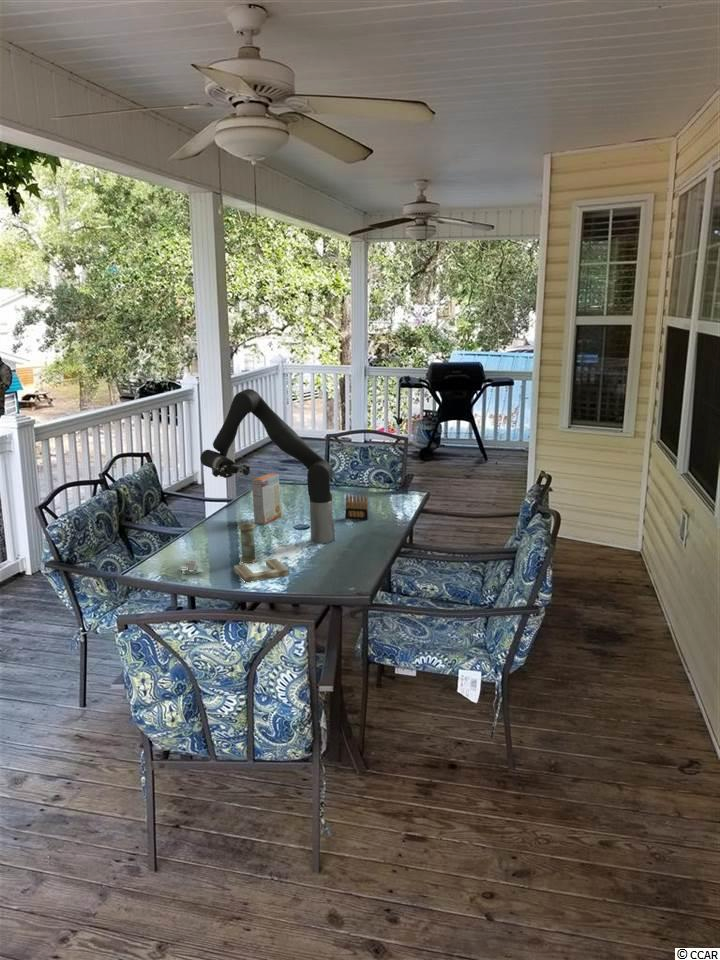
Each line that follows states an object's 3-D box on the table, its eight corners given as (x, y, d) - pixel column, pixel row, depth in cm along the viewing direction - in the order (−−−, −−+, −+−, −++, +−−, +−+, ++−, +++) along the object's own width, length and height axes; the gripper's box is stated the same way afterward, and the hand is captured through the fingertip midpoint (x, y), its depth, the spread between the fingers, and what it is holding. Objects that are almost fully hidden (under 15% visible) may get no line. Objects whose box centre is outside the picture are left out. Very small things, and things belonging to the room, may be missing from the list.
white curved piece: (176, 571, 262) (175, 560, 261) (196, 566, 266) (195, 556, 265) (186, 577, 255) (185, 566, 254) (206, 572, 259) (205, 562, 258)
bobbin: (254, 557, 274) (252, 522, 271) (259, 562, 269) (257, 526, 266) (238, 559, 272) (236, 525, 268) (243, 564, 266) (241, 529, 263)
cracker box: (271, 515, 332) (269, 472, 327) (281, 517, 329) (279, 473, 325) (253, 523, 320) (251, 478, 315) (264, 525, 317) (262, 480, 313)
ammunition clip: (345, 518, 325) (344, 493, 323) (346, 517, 327) (345, 492, 324) (367, 520, 323) (367, 494, 320) (368, 518, 324) (368, 493, 322)
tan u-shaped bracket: (276, 563, 267) (275, 558, 266) (289, 575, 254) (289, 569, 254) (234, 570, 260) (233, 565, 259) (245, 583, 247) (245, 577, 247)
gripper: (206, 459, 282) (217, 466, 268) (240, 455, 289) (253, 462, 275) (207, 477, 284) (218, 485, 270) (241, 473, 290) (254, 481, 276)
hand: (236, 474), depth 272 cm, fingers open, 8 cm apart
